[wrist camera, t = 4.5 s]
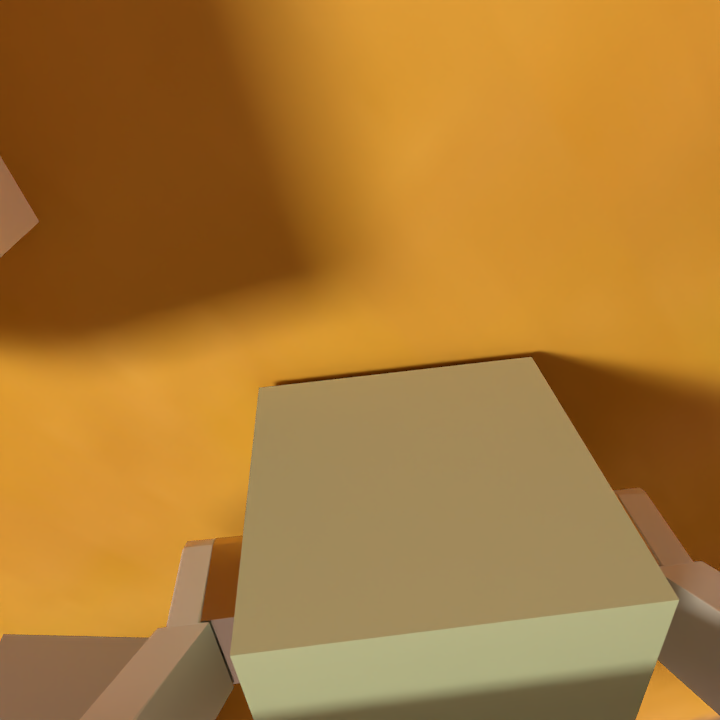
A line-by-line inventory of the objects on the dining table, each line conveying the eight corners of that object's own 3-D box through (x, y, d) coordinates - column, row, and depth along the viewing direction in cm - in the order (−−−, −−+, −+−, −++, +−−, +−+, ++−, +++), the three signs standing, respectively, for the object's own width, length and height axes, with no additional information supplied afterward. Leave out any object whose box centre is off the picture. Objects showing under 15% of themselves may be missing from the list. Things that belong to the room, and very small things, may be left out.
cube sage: (531, 356, 11) (678, 600, 6) (514, 537, 13) (609, 790, 9) (258, 388, 10) (229, 656, 6) (297, 564, 13) (295, 831, 9)
